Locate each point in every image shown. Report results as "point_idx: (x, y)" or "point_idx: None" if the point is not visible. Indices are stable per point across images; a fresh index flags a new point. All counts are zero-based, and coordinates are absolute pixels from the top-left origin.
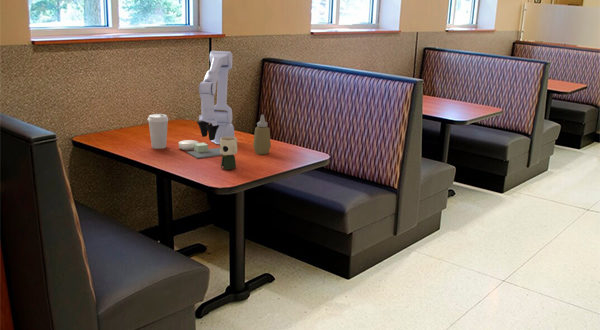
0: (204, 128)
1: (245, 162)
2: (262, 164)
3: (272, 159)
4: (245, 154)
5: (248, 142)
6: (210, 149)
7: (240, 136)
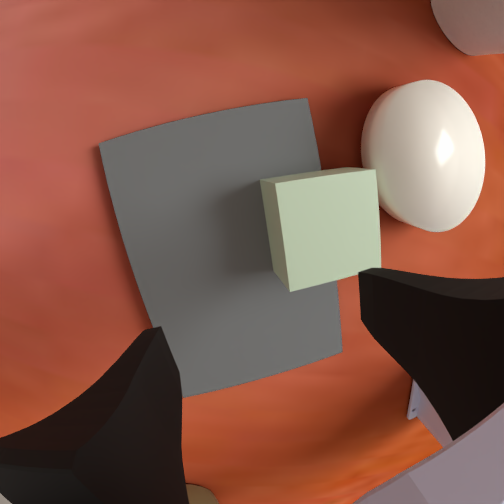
0: (425, 345)
1: (18, 411)
2: None
3: None
4: None
5: (382, 457)
6: (321, 295)
7: None
